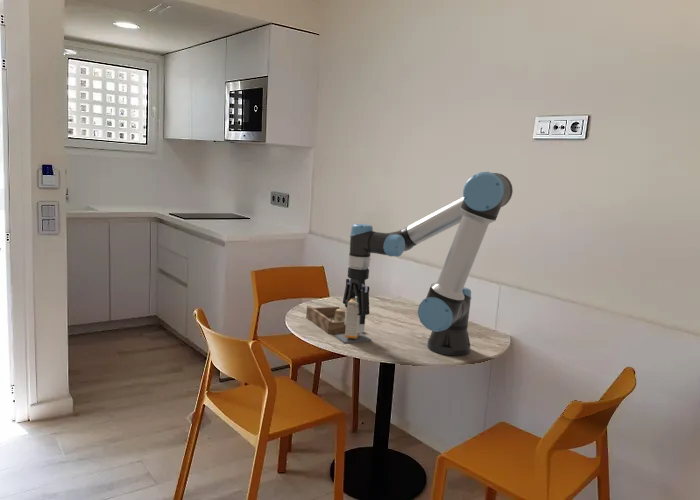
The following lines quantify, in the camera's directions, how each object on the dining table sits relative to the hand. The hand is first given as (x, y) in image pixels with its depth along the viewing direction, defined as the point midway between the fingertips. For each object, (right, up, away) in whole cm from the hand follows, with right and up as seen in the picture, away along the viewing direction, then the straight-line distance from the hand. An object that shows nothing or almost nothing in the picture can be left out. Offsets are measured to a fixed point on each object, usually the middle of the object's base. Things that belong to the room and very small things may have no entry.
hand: (354, 328), depth 205 cm
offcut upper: (-4, +2, +19) cm, 19 cm away
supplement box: (0, -3, 0) cm, 3 cm away
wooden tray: (-8, -1, +17) cm, 19 cm away
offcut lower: (-4, -1, +19) cm, 20 cm away
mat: (0, -4, +1) cm, 4 cm away
